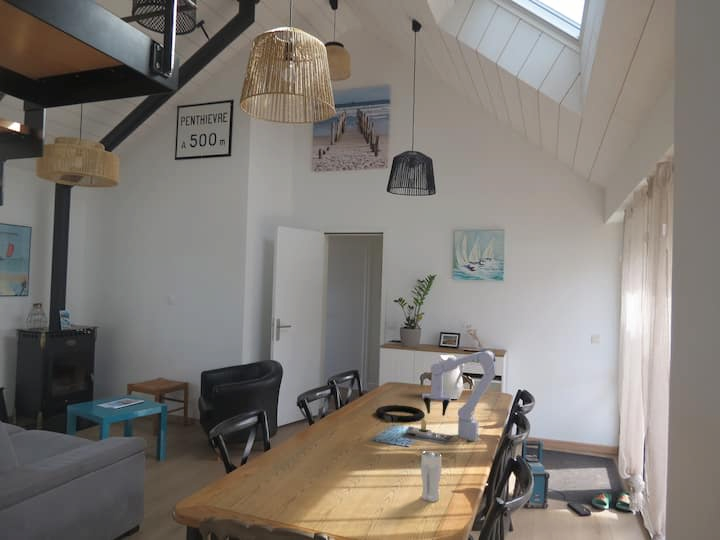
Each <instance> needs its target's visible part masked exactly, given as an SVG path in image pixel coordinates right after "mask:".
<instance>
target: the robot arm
mask: <svg viewBox="0 0 720 540" xmlns="http://www.w3.org/2000/svg"><path fill="white" fill-rule="evenodd" d="M472 362H474V363H479V364H480V365H481V366H482V368H483V372H484V374H483V375H482V377H481V378H480V380H479V382H478V383H477V385H476V387H475V388H474V390H473V391H472V393H471V394H470V396H469V398H468V399H467V400H466V401H465V403H464V404H463V405H462V406H461V407H460V408H459V409H458V410H457V416H458V421H457V422H458V424H457V425H458V426H457V429H458V430H457V435H458V437H460V438H463V439H466V440H467V441H470V442H476V441H477V440H478V439H479V421H478V420H475V419H474V417H473V416H474V414H475V409H476V407H477V405H478V403H479V402H480V400H481V399H482V397H483V396H484V394H485V392H486V390H487V389H488V387H490V386H489V385H491V382H492V381H493V379H494V378H495V377H496V374H497V364H496V363H497V358H496V356H495V354H494V352H492V351H491V350H484V351H478V352H474V353H470V354H467V355H466V356H461V357H459V358H457V359H455V358H451V357H449V358H448V359H447V360H444V361H442V360H438V362H435V363H433V364H432V365H431V366H430V372H431V381H430V382H431V385H430V393H422V394H421V396H422V399H423V402H424V405H425V408H426V414H430V413H431V400H438V401H442V402H441V403H442V412H441V413H442V416H443V417H445V415H446V413H447V408H448V406H449V404H450V402H452V400H451V397H448V396H443V372H448V371H451V370H454V369H457V367H458V365H459V366H461V364H464V365H465V364H468V363H472Z"/></svg>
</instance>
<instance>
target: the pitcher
mask: <svg viewBox="0 0 720 540" xmlns="http://www.w3.org/2000/svg"><path fill="white" fill-rule="evenodd" d="M439 357H440V358H441V361H444V360H447V359H448V358H449V357H451V358H455V359H458V358H457V357H456V356H455V355H453V354H446V355H442V354H440V356H439ZM459 366H460V367H459ZM464 372H465V364H461V365H458V367H457V369H454V370H451V371H448V372H443V396H448V397H451V399H457V400H459V398H460V397H461V395H462V393H463V390H464V381H463V376H462V375H463V373H464Z"/></svg>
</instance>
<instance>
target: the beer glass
mask: <svg viewBox="0 0 720 540" xmlns="http://www.w3.org/2000/svg"><path fill="white" fill-rule="evenodd" d="M442 465H443V464H442V454H441V453H440V452H437V451H434V450H426V451H423V452H422V453H421V461H420V471H421V480H422V492H421V499H422V500H423V501H426V502H431V503H434V502H438V501H439V500H440V494H439V493H440V492H439V485H440V481H441V475H442V467H443V466H442Z"/></svg>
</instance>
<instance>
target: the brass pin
mask: <svg viewBox="0 0 720 540" xmlns="http://www.w3.org/2000/svg"><path fill="white" fill-rule="evenodd" d="M420 429H421V432H426V429H427V418H425V417H424V418H422V419H421V420H420Z"/></svg>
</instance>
